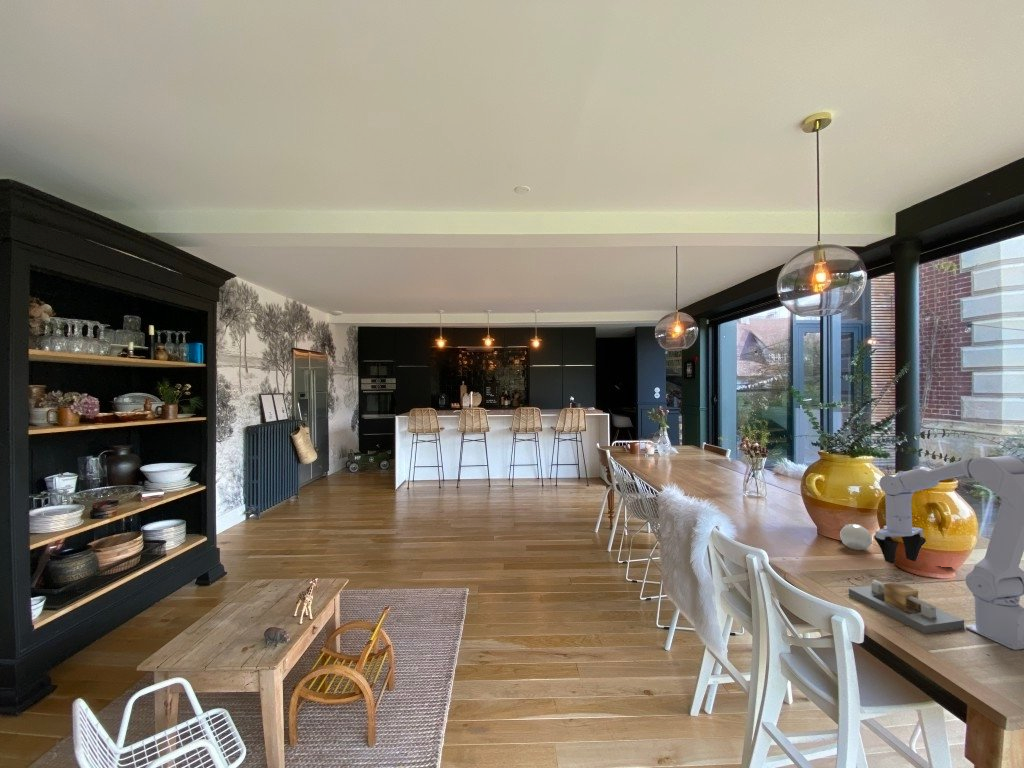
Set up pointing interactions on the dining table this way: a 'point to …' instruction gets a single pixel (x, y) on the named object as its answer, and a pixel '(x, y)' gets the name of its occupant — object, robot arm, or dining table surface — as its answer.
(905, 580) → the dining table surface
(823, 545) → the dining table surface
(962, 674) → the dining table surface
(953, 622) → the grey slotted base plate
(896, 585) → the ochre u-shaped block
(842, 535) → the white egg shape
